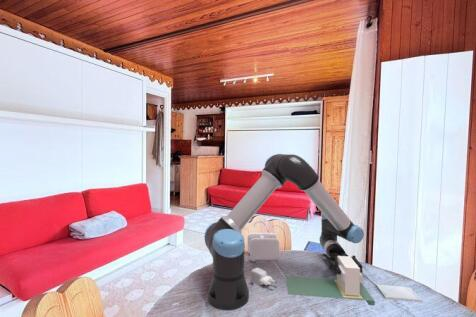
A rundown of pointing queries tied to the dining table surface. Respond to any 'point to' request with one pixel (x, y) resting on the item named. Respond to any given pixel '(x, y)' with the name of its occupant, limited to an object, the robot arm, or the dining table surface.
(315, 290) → the board
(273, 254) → the cable organizer
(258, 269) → the power adapter
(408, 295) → the hard drive
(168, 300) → the dining table surface
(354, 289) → the block
